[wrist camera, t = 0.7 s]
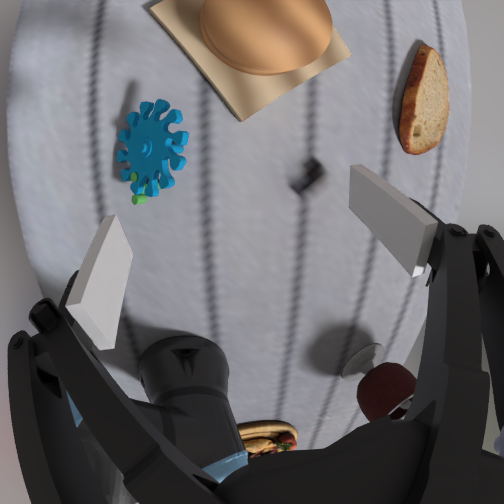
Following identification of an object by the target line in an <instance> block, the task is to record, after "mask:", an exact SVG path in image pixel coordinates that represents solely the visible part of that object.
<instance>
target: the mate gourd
mask: <svg viewBox="0 0 504 504" xmlns="http://www.w3.org/2000/svg"><path fill="white" fill-rule="evenodd" d="M383 355H384V348H383V346H382V345H381V344H371V345H369V346H366V347H365V348H363V349H361V350H360V351H358V352H357V353H356V354H355V355H354V356H352V357H351V358H350V360H349V361H348V362H347V363H346V365H345V366H344V368H343V370H342V377H343V379H344V380H345V381H355V380H358V379H360V378H362V377H363V378H362V380H361V381H360V383H359V385H358V388H357V400H358V403H359V406H360V408H361V410H362V412H363V413H364V415H365V416H366V418H367V419H368V420H369V421H370V422H372V421H375V420H377V419H379V418H381V417H384V416H386V415H388V414H389V416H390V418H391V420H399V419H402V418H403V417H405V415H406V413H407V411H408V409H409V407H410V405H411V402H412V399H413V395H414V391H415V387H416V382H417V379H416V378H415V377H414V376H413V375H412V373H411V372H410V371H408V370H407V369H406V368H405V367H403V366H402V365H400V364H398V363H390V362H385V363H382V364H380V365H378V364H379V362H380V361H381V359H382V357H383ZM377 365H378V366H377Z"/></svg>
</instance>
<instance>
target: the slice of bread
mask: <svg viewBox="0 0 504 504" xmlns="http://www.w3.org/2000/svg"><path fill="white" fill-rule="evenodd" d="M448 90H449V88H448V79H447V75H446V71H445V67H444V64H443V62H442V59H441V58H440V56H439V54H438V53H437V52H436V50H435V49H433V48H431V47H429V46H426V45H421V46H420V48H419V50H418V52H417V54H416V56H415V59H414V61H413V65H412V69H411V71H410V75H409V78H408V81H407V85H406V88H405V93H404V96H403V101H402V110H401V118H400V125H399V133H400V141H401V144H402V147H403V150H404V152H406V153H408V154H412V155H419V154H422V153H425V152H427V151H429V150H431V149H432V148H434V147H435V146H436V145H437V144H438V143H439V142H440V140H441V137H442V135H443V133H444V131H445V129H446V124H447V119H448V115H449V101H448Z"/></svg>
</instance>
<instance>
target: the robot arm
mask: <svg viewBox="0 0 504 504" xmlns="http://www.w3.org/2000/svg"><path fill="white" fill-rule="evenodd" d="M349 209H350V210H351V211H352V212H353V213H354V214H355V215H356V216H357V217H358V218H359V219H360V220H361V221H362V222H363V223H364V224H365V225H366V226H367V227H368V228H369V229H370V230H371V232H372V233H373V234H374V235H375V236H376V237H377V238H378V239H379V240H380V241H381V242H382V244H383V245H384V246H385V247H386V248H387V249H388V250H389V251H390V252H391V254H392V255H393V256H394V257H395V258H396V259H397V261H398V262H399V263H400V264H401V265H402V266H403V268H404V269H405V270H406V271H407V272H408V273H409V275H410V276H411V277H415V276H418V275H421V274H423V273H424V272H425V268H426V265H427V263H428V264H429V265H430V266H431V267H432V269H431V272H430V275H429V278H428V281H427V283H426V286H427V287H428V285H429V298H428V310H427V320H426V329H425V336H424V344H423V350H422V356H421V362H420V367H419V373H418V377H417V382H416V387H415V391H414V395H413V399H412V402H411V405H410V407H409V409H408V411H407V413H406V415H405V417H404V420H403V419H399V420H391V418H390V416H389V414H388V415H386V416H384V417H381V418H379V419H377V420H375V421H372V422H370V423H367V424H365V425H362V426H360V427H357V428H356V429H355V430H353V431H352V432H350V433H349V434H347V435H346V436H344V437H343V438H341V439H339V440H338V441H336V442H335V443H333V444H331V445H330V446H328V447H326V448H323V449H313V450H290V451H280V452H276V453H272V454H267V455H262V456H257V457H252V458H248V456H247V455H248V452H247V450H246V448H245V446H244V443H243V441H242V438H241V435H240V432H239V430H238V427H237V424H236V421H235V419H234V416H233V413H232V410H231V407H230V404H229V401H228V398H227V392H228V377H229V366H228V362H227V359H226V356H225V354H224V352H223V351H222V350H221V348H220V347H219V346H217V345H216V344H214V343H213V342H211V341H209V340H206V339H203V338H199V337H193V336H177V337H171V338H167V339H164V340H161V341H159V342H157V343H155V344H153V345H152V346H150V347H149V348H148V349H147V350H146V351H145V352H144V353H143V355H142V356H141V358H140V361H139V378H140V382H141V384H142V386H143V388H144V390H145V393H146V395H147V397H148V399H149V401H150V403H147V402H143V401H139V400H135V399H131V398H129V397H128V396H127V395H126V394H125V393H124V391H123V390H122V389H121V388H120V386H119V385H118V384H117V383H116V381H115V380H114V379H113V378H112V376H111V375H110V374H109V372H108V371H107V370H106V368H105V367H104V366H103V364H102V363H101V362H100V360H99V359H98V357H97V356H96V355H95V353H94V352H93V351H92V350H91V348H92V344H93V343H94V344H95V345H96V347H97V348H98V349H99V350H106V349H114V348H115V341H116V335H117V329H118V323H119V317H120V312H121V307H122V302H123V297H124V292H125V288H126V283H127V279H128V274H129V270H130V266H131V262H132V258H133V253H132V251H131V249H130V246H129V244H128V242H127V239H126V237H125V235H124V232H123V230H122V227H121V225H120V223H119V220H118V218H117V215H116V214H115V215H112V216H109V217H105V218H104V219H103V221H102V223H101V225H100V227H99V229H98V231H97V233H96V235H95V237H94V239H93V241H92V243H91V245H90V248H89V250H88V252H87V254H86V256H85V258H84V261H83V263H82V265H81V268H80V270H78V271H76V272H75V273H74V274H73V275H72V277H71V278H70V280H69V282H68V284H67V288H66V289H65V292H64V294H63V297H62V299H61V302H60V304H59V307H57V306H56V305H55V303H54V302H53V300H51V299H50V298H45V299H42V300H40V301H39V302H37V303H36V304H35V305H34V307H33V308H32V309H31V311H30V314H29V321H30V322H31V323H32V324H33V326H34V327H35V328H36V329H37V330H38V332H39V333H38V334H36V335H34V336H32V337H30V336H29V335H28V334H27V332H25V331H22V330H21V331H19V332H17V333H16V334H14V335H13V337H12V338H11V340H10V342H9V345H8V388H9V401H10V411H11V420H12V426H13V433H14V439H15V444H16V449H17V454H18V458H19V463H20V467H21V471H22V475H23V478H24V482H25V485H26V488H27V492H28V495H29V498H30V500H31V504H504V240H503V238H502V237H501V235H500V234H499V232H498V231H497V230H496V229H494V228H493V227H491V226H490V225H480V226H479V227H478V231H477V234H468V232H467V231H466V230H465V229H464V228H463V227H461V226H459V225H456V224H451V223H450V224H445V223H443V222H442V221H441V220H440V219H439V218H437V217H436V216H435V215H434V214H433V213H431V212H430V211H429V210H428V209H426V208H424V206H423V205H421V204H420V203H419V202H417V201H415V200H413V199H411V198H408V197H407V196H405V195H404V194H403V193H401V192H400V191H399V190H397V189H396V188H395V187H393V186H392V185H391V184H389V183H388V182H386V181H385V180H384V179H382V178H381V177H379V176H378V175H377V174H375V173H374V172H372V171H371V170H369V169H368V168H366V167H365V166H363V165H362V164H359V165H351V166H350V191H349ZM489 267H490V273H489V275H488V273H487V271H488V268H489ZM481 332H482V336H483V340H484V344H485V349H486V353H487V358H488V363H489V369H490V374H491V380H492V387H493V394H494V403H495V410H496V416H497V421H498V425H499V429H500V432H501V433H500V436H499V437H497V439H496V440H495V442H494V449H495V450H496V451H497V452H500V453H499V456H498V455H496V454H493V453H491V452H488V451H486V450H483V449H482V445H483V440H484V433H485V428H486V420H487V413H488V403H489V390H490V376H489V374H488V372H484V371H482V368H481V358H482V342H481V341H482V338H481Z"/></svg>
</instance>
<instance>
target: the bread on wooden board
mask: <svg viewBox="0 0 504 504" xmlns="http://www.w3.org/2000/svg"><path fill="white" fill-rule="evenodd" d="M150 13H151V14H152V15H153V16H154V17H155V19H156V20H157V21H158V22H159V23H160V24H161V25H162V26H163V27H164V29H165V30H166V31H167V32H168V33H169V34H170V35H171V37H172V38H173V39H174V40H175V41H176V42H177V44H178V45H179V46H180V47H181V48H182V49H183V51H184V52H185V53H186V54H187V55H188V57H189V58H190V59H191V60H192V61H193V63H194V64H195V65H196V66H197V68H198V69H199V70H200V71H201V73H202V74H203V75H204V76H205V78H206V79H207V80H208V81H209V83H210V84H211V85H212V86H213V88H214V89H215V90H216V92H217V93H218V94H219V95H220V97H221V98H222V99H223V101H224V102H225V103H226V105H227V106H228V107H229V109H230V110H231V111H232V113H233V114H234V115H235V117H236V118H237V119H238V121H239V122H243V121H244V120H246V119H247V118H248V117H250V116H251V115H253V114H254V113H256V112H257V111H259V110H260V109H262V108H263V107H265V106H266V105H268V104H269V103H271V102H272V101H274V100H275V99H277V98H278V97H280V96H282V95H283V94H285V93H286V92H288V91H290V90H291V89H293V88H294V87H296V86H298V85H299V84H301V83H303V82H304V81H306V80H308V79H309V78H311V77H313V76H315V75H316V74H318V73H320V72H322V71H323V70H325V69H327V68H329V67H331V66H333V65H334V64H336V63H338V62H340V61H342V60H344V59H346V58H348V57H350V56H352V55H351V53H350V51H349V50H348V48H347V46H346V45H345V43H344V41H343V40H342V38H341V37H340V35H339V34H338V32H337V30H336V29H335V27H334V26H333V24H332V18H331V14H330V11H329V8H328V6H327V4H326V2H325V1H324V0H163V1H161V2H159V3H158V4H156V5H154V6H153V7H151V8H150Z"/></svg>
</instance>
